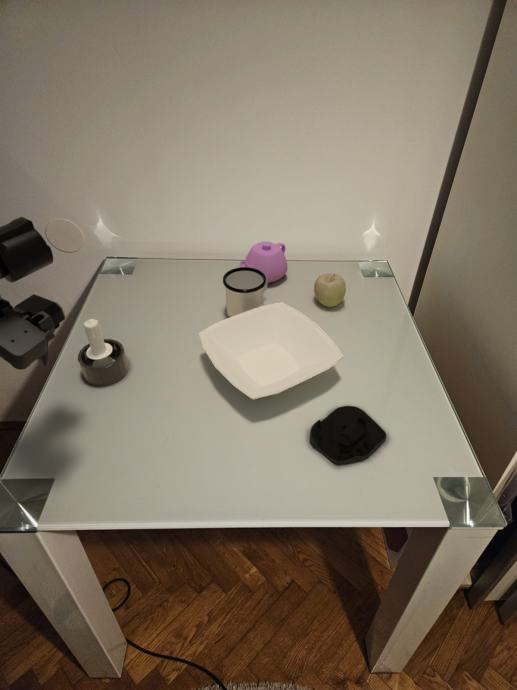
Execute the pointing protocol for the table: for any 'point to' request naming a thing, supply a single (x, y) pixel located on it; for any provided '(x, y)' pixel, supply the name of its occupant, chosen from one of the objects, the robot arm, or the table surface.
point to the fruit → (330, 289)
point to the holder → (104, 373)
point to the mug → (244, 289)
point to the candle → (97, 344)
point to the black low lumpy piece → (346, 435)
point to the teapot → (267, 260)
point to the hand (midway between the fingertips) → (19, 384)
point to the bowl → (269, 349)
